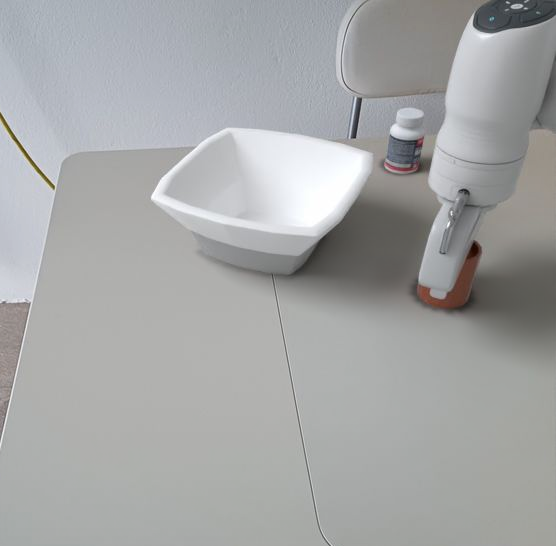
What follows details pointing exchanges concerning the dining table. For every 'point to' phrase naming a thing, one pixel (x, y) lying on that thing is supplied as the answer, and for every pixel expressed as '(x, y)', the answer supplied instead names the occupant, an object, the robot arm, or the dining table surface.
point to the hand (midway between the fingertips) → (446, 277)
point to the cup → (462, 285)
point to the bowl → (263, 195)
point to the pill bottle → (405, 141)
